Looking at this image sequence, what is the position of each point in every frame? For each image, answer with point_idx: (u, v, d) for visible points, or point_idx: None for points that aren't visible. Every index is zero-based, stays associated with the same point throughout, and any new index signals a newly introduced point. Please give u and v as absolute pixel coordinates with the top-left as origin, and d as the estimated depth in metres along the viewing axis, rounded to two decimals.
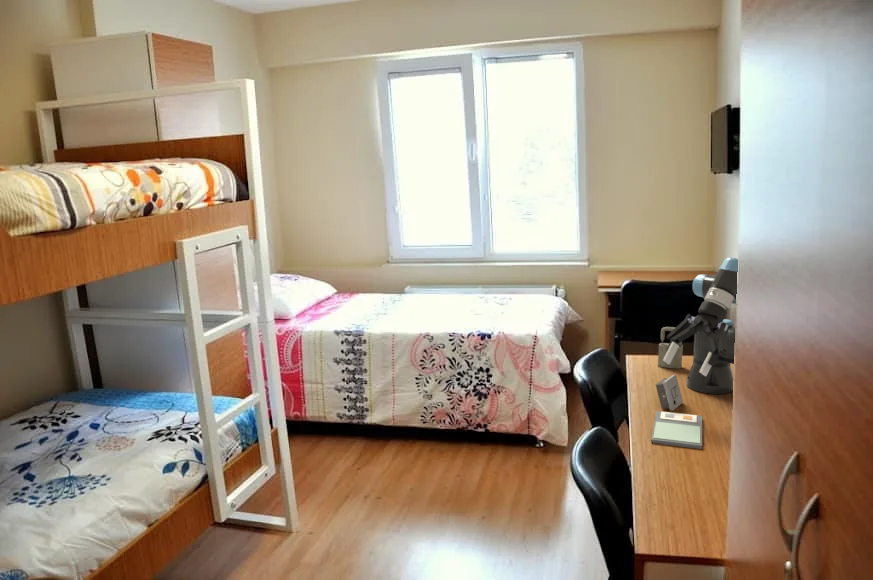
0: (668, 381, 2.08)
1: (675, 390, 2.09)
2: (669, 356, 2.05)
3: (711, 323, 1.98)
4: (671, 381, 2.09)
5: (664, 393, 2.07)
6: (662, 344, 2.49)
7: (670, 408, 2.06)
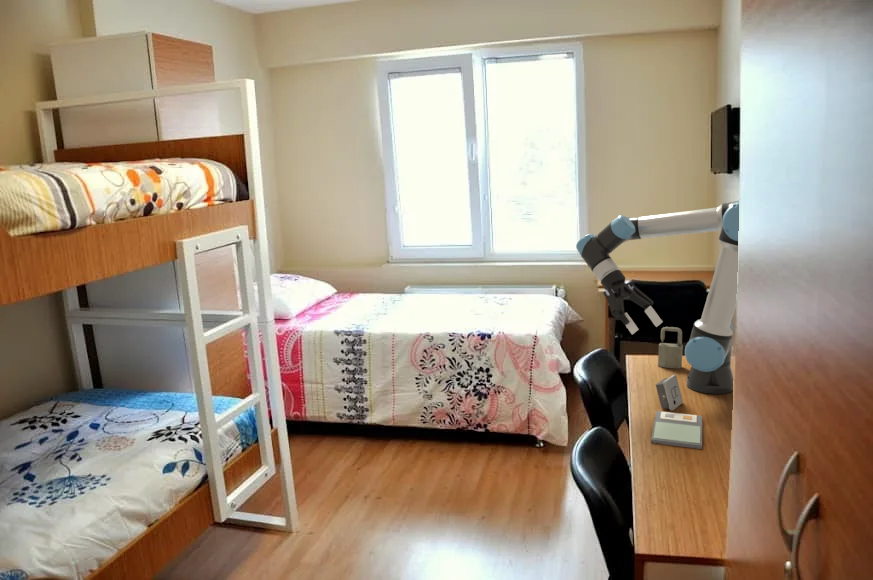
0: (668, 381, 2.08)
1: (675, 390, 2.09)
2: (654, 320, 2.18)
3: None
4: (671, 381, 2.09)
5: (664, 393, 2.07)
6: (662, 344, 2.49)
7: (670, 408, 2.06)
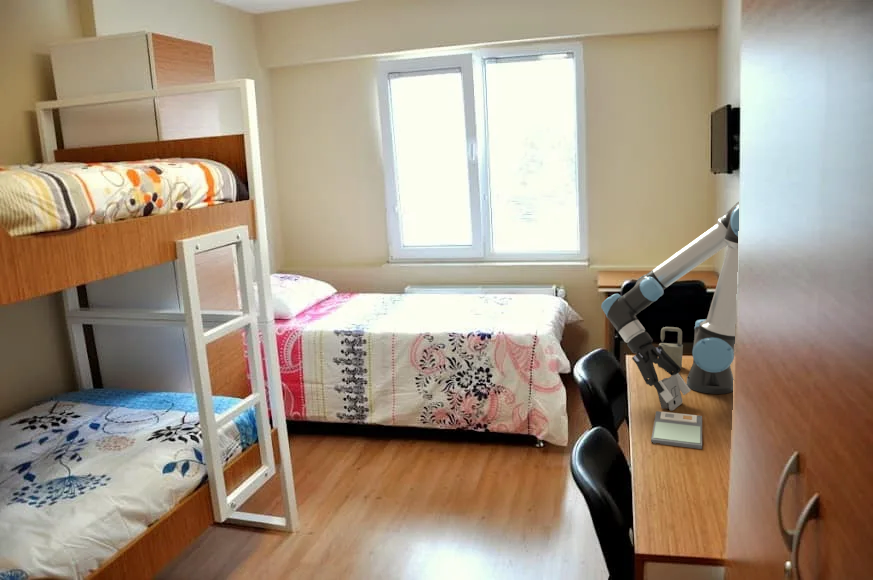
0: (668, 381, 2.07)
1: (675, 390, 2.09)
2: (682, 388, 2.12)
3: None
4: (671, 381, 2.09)
5: None
6: (662, 344, 2.49)
7: (670, 408, 2.06)
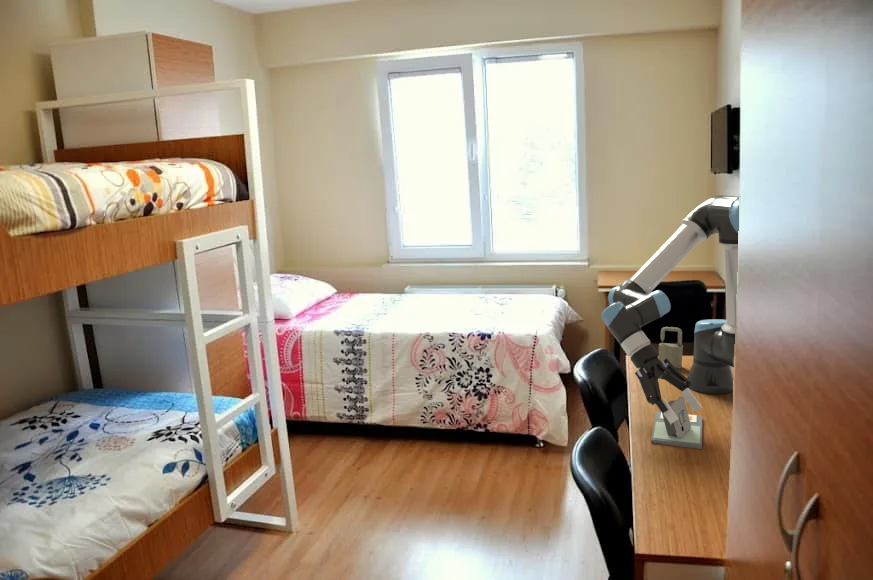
0: (675, 405, 1.84)
1: (683, 414, 1.86)
2: (692, 404, 1.90)
3: None
4: (678, 404, 1.86)
5: None
6: (662, 344, 2.49)
7: (678, 435, 1.83)
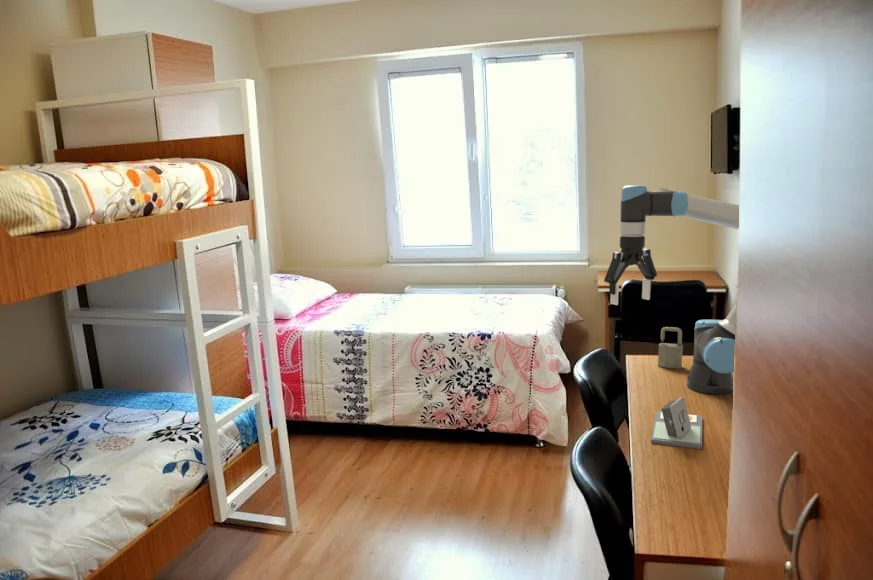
0: (675, 405, 1.84)
1: (683, 415, 1.86)
2: (644, 293, 2.17)
3: None
4: (678, 404, 1.86)
5: (671, 418, 1.84)
6: (662, 344, 2.49)
7: (678, 435, 1.83)
